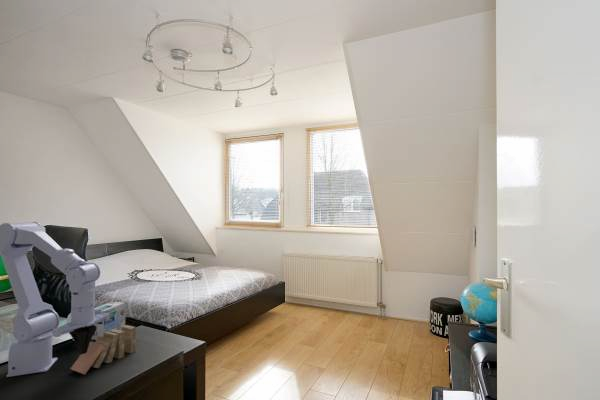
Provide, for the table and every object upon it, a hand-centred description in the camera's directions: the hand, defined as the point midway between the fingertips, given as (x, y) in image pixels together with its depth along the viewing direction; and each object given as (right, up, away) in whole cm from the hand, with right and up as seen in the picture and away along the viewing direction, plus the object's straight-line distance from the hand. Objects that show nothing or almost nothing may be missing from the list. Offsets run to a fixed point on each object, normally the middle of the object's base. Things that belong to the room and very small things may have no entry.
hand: (82, 352), depth 90 cm
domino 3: (+3, -5, +6) cm, 8 cm away
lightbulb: (-17, -6, +21) cm, 27 cm away
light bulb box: (-9, -7, +27) cm, 29 cm away
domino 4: (+4, -6, +9) cm, 12 cm away
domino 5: (+6, -6, +13) cm, 15 cm away
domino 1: (-1, -5, -1) cm, 5 cm away
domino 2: (+1, -5, +2) cm, 6 cm away
